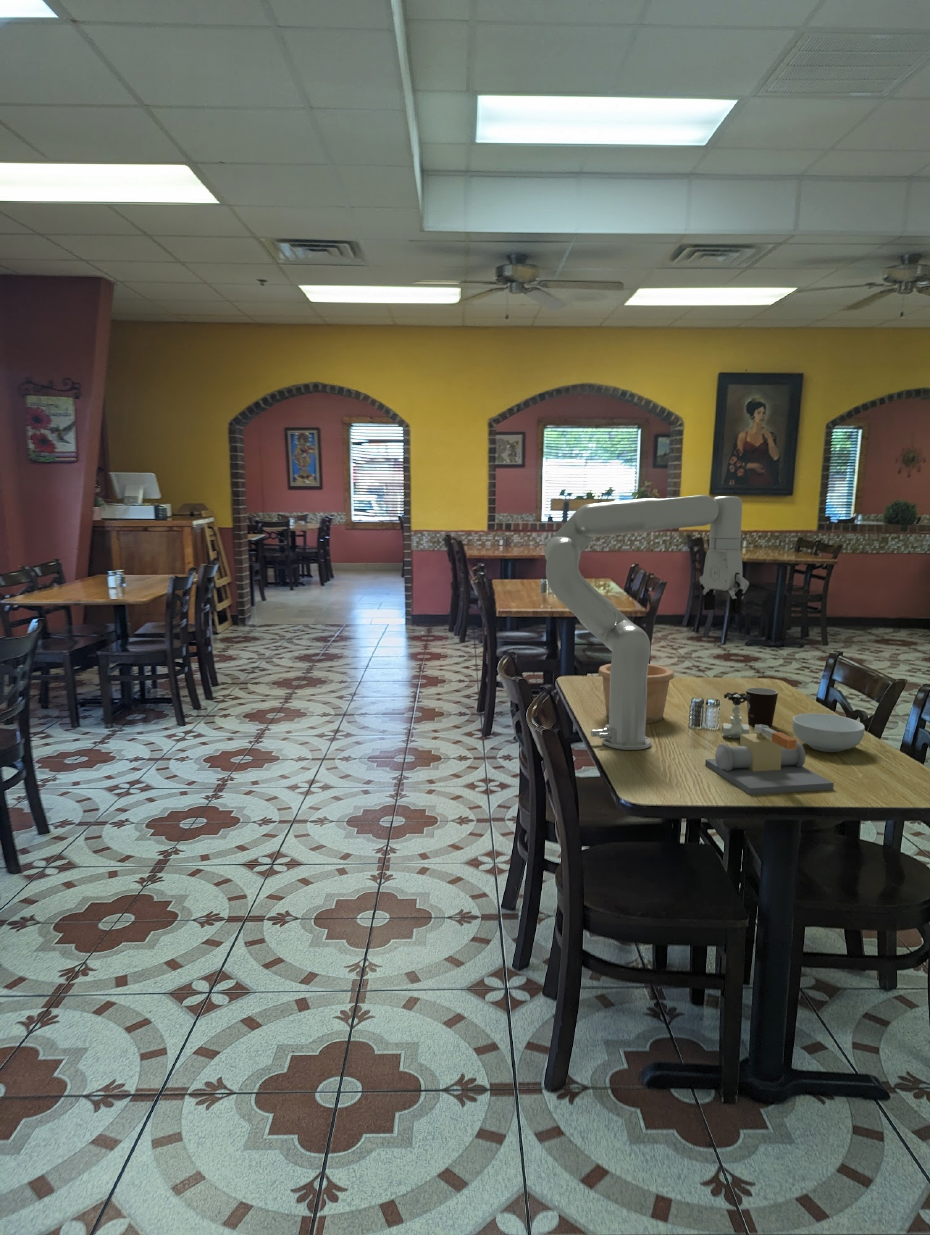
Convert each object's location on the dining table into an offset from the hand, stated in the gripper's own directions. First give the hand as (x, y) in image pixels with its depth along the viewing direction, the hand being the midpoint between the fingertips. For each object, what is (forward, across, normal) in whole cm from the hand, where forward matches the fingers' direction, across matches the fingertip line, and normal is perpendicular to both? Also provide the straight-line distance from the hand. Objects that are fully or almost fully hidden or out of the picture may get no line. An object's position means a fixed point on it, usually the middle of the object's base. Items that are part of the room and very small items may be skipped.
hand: (721, 611), depth 197 cm
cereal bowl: (+36, +13, +25) cm, 45 cm away
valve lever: (+26, +27, -7) cm, 38 cm away
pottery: (+35, -32, -4) cm, 48 cm away
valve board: (+35, +25, -6) cm, 44 cm away
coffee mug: (+35, -11, +26) cm, 45 cm away
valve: (+35, -3, +8) cm, 36 cm away
